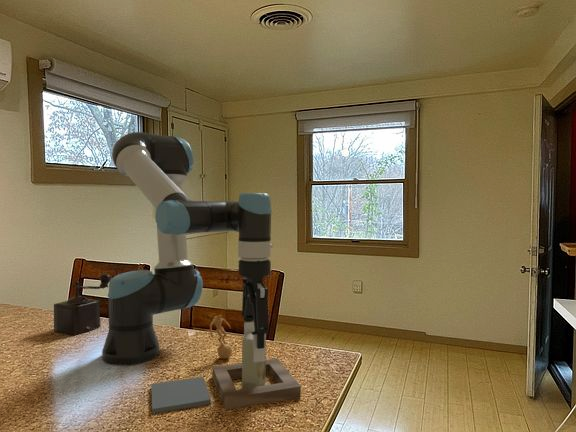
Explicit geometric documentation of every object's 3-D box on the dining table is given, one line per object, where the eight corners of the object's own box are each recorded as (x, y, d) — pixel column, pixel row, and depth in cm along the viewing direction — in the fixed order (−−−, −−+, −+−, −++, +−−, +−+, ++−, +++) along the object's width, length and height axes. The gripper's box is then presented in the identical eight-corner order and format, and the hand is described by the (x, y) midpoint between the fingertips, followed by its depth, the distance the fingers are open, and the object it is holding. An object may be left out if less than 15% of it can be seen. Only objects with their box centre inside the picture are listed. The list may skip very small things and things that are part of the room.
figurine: (220, 364, 107) (220, 320, 106) (203, 360, 110) (203, 317, 109) (239, 354, 114) (239, 313, 114) (223, 350, 117) (223, 310, 117)
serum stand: (212, 376, 100) (212, 366, 99) (276, 367, 105) (277, 358, 105) (225, 410, 84) (225, 398, 83) (300, 397, 89) (300, 386, 89)
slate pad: (151, 388, 93) (151, 383, 93) (203, 380, 97) (203, 376, 97) (152, 413, 82) (152, 409, 82) (210, 404, 86) (210, 399, 86)
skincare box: (259, 393, 91) (259, 340, 90) (241, 391, 92) (241, 339, 91) (266, 381, 97) (266, 331, 97) (249, 379, 98) (249, 330, 98)
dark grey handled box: (75, 336, 128) (74, 281, 128) (52, 331, 133) (52, 278, 133) (114, 323, 142) (114, 273, 142) (93, 319, 147) (92, 271, 147)
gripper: (284, 264, 85) (283, 369, 86) (258, 252, 104) (257, 338, 105) (250, 266, 82) (249, 374, 83) (229, 253, 102) (229, 341, 103)
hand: (254, 354), depth 94 cm, fingers open, 8 cm apart
